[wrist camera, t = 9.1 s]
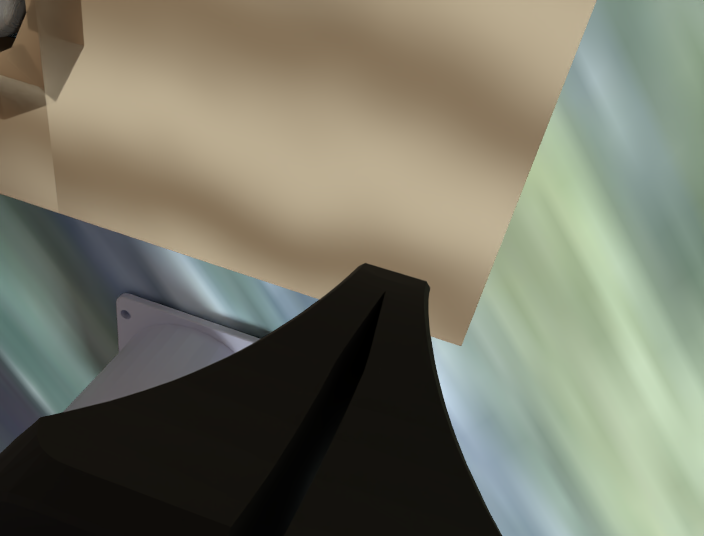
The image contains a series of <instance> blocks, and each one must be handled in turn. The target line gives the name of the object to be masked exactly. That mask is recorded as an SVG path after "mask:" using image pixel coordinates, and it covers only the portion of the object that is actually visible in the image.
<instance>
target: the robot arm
mask: <svg viewBox="0 0 704 536" xmlns="http://www.w3.org/2000/svg"><path fill="white" fill-rule="evenodd" d="M429 292H430V286H429V285H428V283H427V281H424V280H421V279H417V278H414V277H411V276H408V275H404V274H401V273H398V272H394V271H391V270H388V269H384V268H381V267H378V266H374V265H371V264H368V263H364V264H362V265H360V266H358V267H357V268H356V269H355V270H354V271H353V272H352V273H351V274H350V275H349V276H347V277H346V278H345V279H344V280H343V281H342V282H341V283H339V284H338V285H337V286H336V287H335V288H333V289H332V290H331V291H330V292H328V293H327V294H326V295H325V296H323V297H322V298H321V299H319V300H318V301H317V302H315V303H314V304H313V305H311V306H310V307H309V308H307V309H306V310H305V311H303V312H302V313H300V314H299V315H298V316H296V317H294V318H293V319H291V320H290V321H288V322H287V323H285V324H284V325H282V326H281V327H279V328H278V329H276V330H274V331H273V332H271V333H270V334H268V335H266V336H265V337H263V338H261V339H260V338H257V337H254V336H251V335H248V334H245V333H242V332H239V331H236V330H233V329H231V328H228V327H225V326H222V325H219V324H216V323H213V322H210V321H207V320H204V319H202V318H199V317H196V316H193V315H190V314H187V313H184V312H181V311H178V310H175V309H172V308H170V307H167V306H164V305H161V304H158V303H155V302H152V301H149V300H146V299H143V298H141V297H138V296H135V295H132V294H128V293H124V294H122V295H121V296H120V297H119V298H118V299H117V301H116V309H117V327H118V345H119V353H118V354H117V355H116V356H115V357H114V358H113V359H112V360H111V361H110V363H109V364H108V365H107V366H106V367H105V368H104V369H103V370H102V371H101V372H100V373H99V374H98V375H97V376H96V378H95V379H94V380H93V381H92V382H91V383H90V384H89V385H88V386H87V387H86V388H85V389H84V390H83V391H82V392H81V394H80V395H79V396H78V397H77V398H76V399H75V400H74V401H73V402H72V403H71V404H70V405H69V406H68V407H67V409H66V410H65V411H64V412H62V413H58V414H54V415H49V416H45V417H40V418H39V419H38V420H37V421H36V422H35V423H34V424H33V425H32V426H30V427H29V428H28V429H27V430H26V431H24V432H23V433H22V434H21V435H20V436H18V437H17V438H16V439H15V440H14V441H13V442H12V443H11V444H10V445H9V446H8V447H7V448H6V449H5V450H4V451H2V452H1V453H0V536H502V534H501V533H500V531H499V529H498V527H497V525H496V523H495V522H494V520H493V518H492V516H491V514H490V512H489V510H488V508H487V506H486V504H485V502H484V500H483V498H482V496H481V493H480V491H479V489H478V487H477V485H476V483H475V481H474V479H473V476H472V474H471V472H470V470H469V468H468V466H467V464H466V461H465V459H464V456H463V454H462V451H461V448H460V446H459V443H458V441H457V438H456V435H455V433H454V430H453V427H452V424H451V421H450V418H449V415H448V412H447V409H446V405H445V402H444V398H443V395H442V391H441V387H440V383H439V379H438V374H437V370H436V365H435V360H434V354H433V348H432V341H431V335H430V325H429ZM127 311H128V312H129V313H128V312H127Z"/></svg>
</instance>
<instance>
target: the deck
mask: <svg viewBox="0 0 704 536" xmlns="http://www.w3.org/2000/svg"><path fill="white" fill-rule="evenodd" d="M596 1H597V0H25V4H26V12H27V13H26V15H25V17H24V20H23V22H22V24H21V27H20V29H19V32H18V34H17V36H16V39H15V38H12V37H8V36H5V37H0V194H3V195H6V196H9V197H12V198H15V199H18V200H21V201H24V202H27V203H30V204H33V205H36V206H39V207H42V208H45V209H48V210H51V211H54V212H57V213H60V214H63V215H66V216H69V217H72V218H75V219H78V220H81V221H84V222H87V223H90V224H93V225H96V226H99V227H102V228H105V229H108V230H111V231H114V232H118V233H121V234H124V235H127V236H130V237H133V238H136V239H139V240H142V241H145V242H148V243H151V244H154V245H157V246H160V247H163V248H166V249H169V250H172V251H175V252H178V253H181V254H184V255H187V256H190V257H193V258H196V259H199V260H202V261H205V262H208V263H211V264H214V265H217V266H220V267H223V268H226V269H229V270H232V271H235V272H238V273H241V274H244V275H247V276H250V277H254V278H257V279H260V280H263V281H266V282H269V283H272V284H275V285H278V286H281V287H284V288H287V289H290V290H293V291H296V292H299V293H302V294H305V295H308V296H311V297H314V298H317V299H321V298H322V297H323V296H325V295H326V294H327V293H328V292H330V291H331V290H332V289H333V288H335V287H336V286H337V285H338V284H339V283H341V282H342V281H343V280H344V279H345V278H346V277H347V276H349V275H350V274H351V273H352V272H353V271H354V270H355V269H356V268H357V267H358V266H360V265H362V264H364V263H368V264H371V265H374V266H378V267H381V268H384V269H388V270H391V271H394V272H398V273H401V274H404V275H408V276H411V277H414V278H417V279H421V280H424V281H427V283H428V285H429V286H430V292H429V325H430V335H431V336H432V337H435V338H438V339H441V340H444V341H447V342H450V343H453V344H456V345H459V346H461V345H462V343H463V340H464V338H465V335H466V333H467V330H468V327H469V325H470V322H471V320H472V317H473V315H474V312H475V310H476V307H477V304H478V302H479V299H480V297H481V294H482V292H483V289H484V287H485V284H486V281H487V279H488V276H489V274H490V271H491V269H492V266H493V264H494V261H495V258H496V256H497V253H498V251H499V248H500V246H501V243H502V241H503V238H504V236H505V233H506V230H507V228H508V225H509V223H510V220H511V218H512V215H513V213H514V210H515V207H516V205H517V202H518V200H519V197H520V195H521V192H522V190H523V187H524V184H525V182H526V179H527V177H528V174H529V172H530V169H531V167H532V164H533V161H534V159H535V156H536V154H537V151H538V149H539V146H540V144H541V141H542V138H543V136H544V133H545V131H546V128H547V126H548V123H549V121H550V118H551V115H552V113H553V110H554V108H555V105H556V103H557V100H558V98H559V95H560V92H561V90H562V87H563V85H564V82H565V80H566V77H567V75H568V72H569V69H570V67H571V64H572V62H573V59H574V57H575V54H576V52H577V49H578V46H579V44H580V41H581V39H582V36H583V34H584V31H585V29H586V26H587V24H588V21H589V18H590V16H591V13H592V11H593V8H594V6H595V3H596Z"/></svg>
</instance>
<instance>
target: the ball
mask: <svg viewBox="0 0 704 536" xmlns="http://www.w3.org/2000/svg"><path fill="white" fill-rule="evenodd" d="M26 13H27V12H26V4H25V0H0V37H5V36H9V35H12V34H14V33H17V32H19V29H20V27H21V24H22V22H23V20H24V17H25V15H26Z"/></svg>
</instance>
